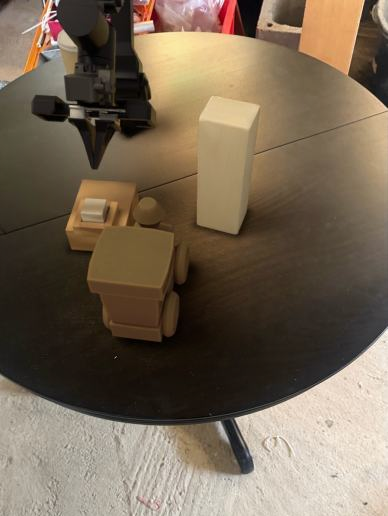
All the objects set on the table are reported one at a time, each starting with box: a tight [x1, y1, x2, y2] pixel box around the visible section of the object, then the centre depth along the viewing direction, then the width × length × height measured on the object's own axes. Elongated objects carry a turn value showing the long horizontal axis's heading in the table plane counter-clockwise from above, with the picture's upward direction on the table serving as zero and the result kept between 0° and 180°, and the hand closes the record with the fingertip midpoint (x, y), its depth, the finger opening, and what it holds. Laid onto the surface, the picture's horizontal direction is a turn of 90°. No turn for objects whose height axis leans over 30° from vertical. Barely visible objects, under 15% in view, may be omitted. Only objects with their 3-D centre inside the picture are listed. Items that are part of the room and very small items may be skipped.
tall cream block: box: [196, 95, 261, 235], centre depth 79 cm, size 8×7×21 cm
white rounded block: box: [81, 198, 108, 223], centre depth 79 cm, size 4×4×2 cm
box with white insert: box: [65, 178, 140, 252], centre depth 84 cm, size 14×10×6 cm
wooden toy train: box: [86, 196, 190, 343], centre depth 71 cm, size 20×11×17 cm, turn 172°
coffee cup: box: [56, 29, 77, 75], centre depth 105 cm, size 9×9×12 cm
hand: (94, 169), depth 77 cm, fingers closed
